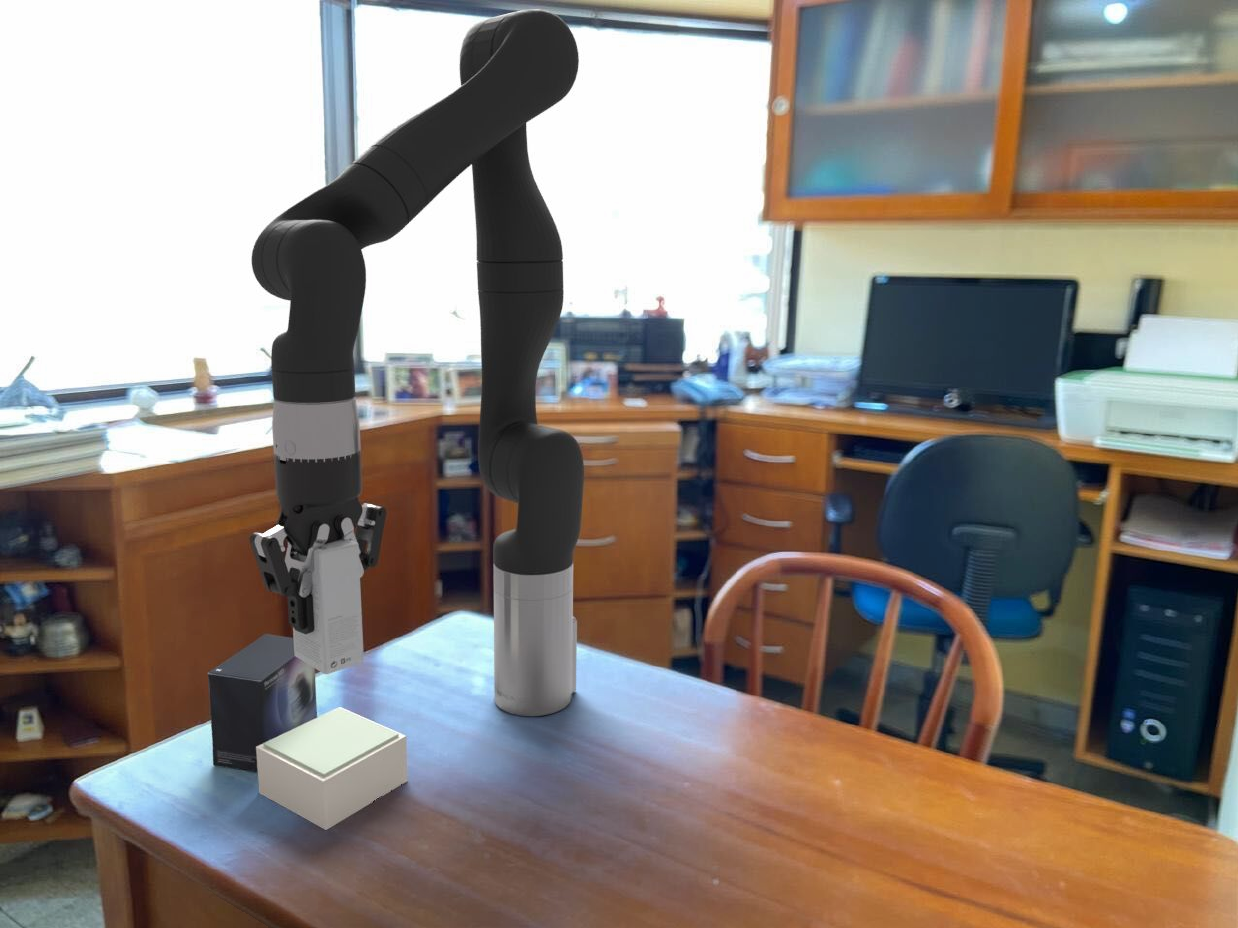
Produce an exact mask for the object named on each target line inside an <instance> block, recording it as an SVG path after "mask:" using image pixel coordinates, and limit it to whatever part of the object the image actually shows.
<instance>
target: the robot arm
mask: <svg viewBox="0 0 1238 928" xmlns="http://www.w3.org/2000/svg"><path fill="white" fill-rule="evenodd" d="M577 45H578V44H577V41H576V38H575V36H574V34H573V32H572V31H571V29H570V27H569V26H568V24H567V23H566V22H565V21H564V20H563V19H562V18H561V17H560V16H559V15H557V14H555V13H553V12H551V11H548V10H544V9H539V8H537V9H535V8H534V9H533V8H531V9H522V10H518V11H513V12H510V13H505V14H501V15H497V16H494V17H493V16H492V17H489V18H486V19H482V20H480V21H477V22H476V23H475V24H473V25H472V26H471V27H470V28H469V30H468V31H467V33H465V36H464V38H463V40H462V43H461V47H460V53H459V79H460V86H459V87H458V88H457V89H456V90H454V91H453V92H451V93H450V94H448V95H447V96H445V97H443V98H442V99H441V100H438V101H437V102H435V103H433V104H431V106H428V107H427V108H425V109H424V110H422V111H420V112H419V113H416V114H415V115H413V116H411V117H409V118H408V119H406V120H404V121H403V122H401V123H400V124H398V125H397V126H395V127H393V128H392V129H391V130H389V132H387V133H386V134H384V135H383V136H382V137H381V138H379V139H378V140H377V141H376V142H375V143H373V144H372V145H371V146H370V147H368V148H367V149H366V150H365V151H364V152H362V154H361V155H360V156H359V157H357V158H356V159H355V160H354V161H353V162H351V163H350V165H349V166H347V167H346V168H345V169H344V170H343V172H342V173H341V174H339V176H338V177H337V178H335V179H334V180H333V181H331V182H329V183H328V184H326V185H325V186H323V187H321V188H320V189H318V190H316V191H313V193H311V194H309V195H308V196H306V197H305V198H304V199H302V200H300V201H298V202H297V203H295V204H294V205H292V206H291V207H289V208H287V210H285V211H283V212H282V213H280V214H279V215H278V216H276V217H275V218H274V219H273V220H272V221H271V222H270V223H268V224H267V225H266V227H264V229H263V230H262V231H261V233H260V234H259V235H258V236H257V239H256V241H255V243H254V245H253V248H252V251H251V268H252V273H253V275H254V277H255V279H256V281H257V283H258V284H259V285H260V286H261V288H263V290H265V291H266V292H267V293H269V294H270V295H273V296H274V297H276V298H279V299H281V300H284V301H290V302H289V313H288V324H287V330H286V331H284V332H282V333H281V334H278V335H277V336H276V337H275V339H274V340H273V342H272V344H271V356H270V357H271V359H270V361H271V365H270V366H271V379H272V380H271V381H272V396H273V409H272V410H273V411H272V419H271V420H272V421H271V422H272V424H271V426H272V428H271V430H272V443H273V444H272V445H273V462H274V475H275V477H274V478H275V490H276V491H275V493H276V497H277V498H276V499H277V500H278V502H279V506H280V512H279V516H278V518H277V523H276V526H274V527H272V528H270V529H268V530H267V531H265V532H264V533H261V532H257V531H255V532H253V533H252V534H251V535H250V536H249V544H250V546H251V549H252V553H253V556H254V558H255V562H256V564H257V566H258V569H259V573H260V575H261V579H262V581H263V584H264V586H265V589H266V590H267V591H268V592H273V593H276V594H279V595H281V596H283V597H286V598H287V611H288V623H289V625H290V627H292V628H293V627H294V629H295V630H296V631H298V632H300V633H303V634H309V633H311V632H313V631H314V612H313V595H310V591H311V587H312V573H313V572H314V551H315V550H317V549H320V548H323V547H324V545H325V544H328V543H331V542H334V541H338V540H343V541H347V540H351V541H354V542H357V543H358V545H359V566H360V588H361V589H362V580H361V579H362V577H363V576H364V573H365V571H366V570H368V569H369V568H375V567H376V566H377V565H378V563H379V557H380V552H381V551H380V550H381V545H382V539H383V536H384V535H383V534H384V528H385V523H386V517H387V510H386V507H383V506H379V505H375V504H372V503H367V502H365V503H363V504H362V503H361V501H360V499H359V497H360V496H361V494H362V492H363V479H362V478H363V474H362V473H363V472H362V449H361V447H362V446H361V429H360V428H361V426H360V417H359V413H358V412H359V411H358V406H357V405H358V404H357V398H356V379H355V378H356V377H355V376H356V374H355V359H354V348H355V344H356V339H357V337H358V332H359V328H360V323H361V318H362V317H361V316H362V312H363V311H362V310H363V306H364V301H365V296H366V295H365V294H366V287H367V286H366V285H367V270H366V262H365V259H364V258H365V257H364V255H363V251H362V250H364V249H365V248H366V247H370V246H372V245H376V244H379V243H383V242H386V241H389V240H391V238H393V237H395V236H396V235H398V234H399V233H400V232H401V231H402V230H404V228H406V227H407V226H408V225H409V223H410V222H412V221H413V220H414V219H415V217H417V216H418V215H419V214H420V213H421V212H422V211H423V210H424V209H425V208H426V207H427V206H428V205H430V203H431V202H432V201H434V199H435V198H436V197H437V196H438V195H439V194H440V193H442V192H443V191H444V190H445V189H446V188H447V187H448V186H449V185H450V184H452V182H453V181H454V180H456V179H457V178H458V176H460V175H461V174H462V173H463V172H465V171H466V170H467V169H468V168H469V167H470V166H471V171H472V188H473V191H472V192H473V202H474V203H473V204H474V214H475V215H474V217H475V232H476V233H475V235H476V236H475V237H476V238H475V239H476V276H477V277H476V278H477V279H476V280H477V295H478V304H479V320H480V325H479V326H480V358H481V359H480V363H481V394H480V411H479V413H480V414H479V426H478V427H479V429H478V442H477V443H478V450H477V452H478V453H477V456H478V457H477V458H478V461H477V462H478V468H479V474H480V477H481V479H482V483H483V485H484V486H485V488H486V489H487V490H489V492H490V493H492V494H493V495H494V496H496V497H498V498H501V499H504V500H507V501H508V502H513V503H516V504H517V519H516V520H517V521H516V528H514V529H510V530H508V531H504V532H503V533H500V534H499V535H498V536H497V537H496V538H495V540H494V542H493V545H492V546H493V549H492V552H493V553H492V560H493V561H492V562H493V653H494V654H493V655H494V656H493V679H494V681H493V682H494V683H493V684H494V685H493V686H494V687H493V688H494V693H493V695H494V699H493V700H494V702H495V704H496V705H497V707H498V708H499V709H501V710H503V712H504V711H505V712H506V713H509V714H512V715H516V716H525V717H539V716H547V715H551V714H554V713H555V714H556V712H560V711H561V710H563V709H565V708H566V707H568V706H569V705H570V703H571V701H572V696H573V695H572V694H573V693H575V692H577V658H578V657H577V655H578V654H577V650H578V649H577V643H578V642H577V641H578V638H577V637H578V636H577V635H578V620H577V619H576V616H574V614H573V613H574V551H575V548H576V546H577V543H578V540H579V537H580V533H581V529H582V528H581V526H582V512H583V498H584V497H583V495H584V486H585V485H584V484H585V483H584V482H585V464H584V457H583V452H582V449H581V446H580V444H579V443H578V441H577V440H576V438H575V437H574V436H573V435H571V433H570V432H567V431H565V430H562V429H558V428H554V427H550V426H546V425H542V424H541V425H540V424H538V417H537V402H536V401H537V400H536V398H537V397H536V393H537V392H536V386H537V377H538V372H539V368H540V365H541V362H542V360H543V357H544V355H545V353H546V350H547V348H548V346H549V344H550V342H551V339H552V337H553V335H554V333H555V330H556V328H557V325H558V323H559V321H560V318H561V315H562V310H563V305H564V292H565V291H564V262H563V260H564V257H563V256H564V254H563V245H562V239H561V235H560V232H559V230H558V227H557V225H556V221H555V220H554V218H553V216H552V213H551V212H550V209H549V207H548V205H547V204H546V201H545V199H544V196H543V194H542V193H541V190H540V189H539V187H538V184H537V183H536V180H535V178H534V174H533V171H532V168H531V163H530V157H529V151H528V150H529V148H528V135H527V133H528V131H527V123H528V122H530V121H532V120H533V119H535V118H537V117H538V116H539V115H541V114H542V113H544V112H546V111H547V110H549V109H551V108H552V107H553V106H555V105H556V104H558V103H560V101H562V100H564V98H565V97H566V96H567V95H568V94H569V93H570V91H571V90H572V88H573V87H574V85H575V82H576V79H577V76H578V72H579V63H580V62H579V61H580V60H579V57H580V56H579V49H578V46H577ZM355 529H356V530H355ZM285 540H286V541H287V548H286V547H285V546H284V541H285ZM288 542H289V543H288ZM285 551H286V553H285V556H284V554H283V553H284V552H285ZM298 553H299V554H300V555H303V556H307V559H306V561H303V560H301V559H300V558H299V555H298ZM299 575H300V576H299ZM298 579H299V581H298ZM362 598H363V597H362V596H361V604H362V602H363V600H362Z"/></svg>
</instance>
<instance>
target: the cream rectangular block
mask: <svg viewBox="0 0 1238 928" xmlns="http://www.w3.org/2000/svg"><path fill="white" fill-rule="evenodd" d="M407 749H408V748H407V735H405V734H403V733H401V732H398V731H396V730H395V729H391V728H389V727H387V726H385V725H382V724H380V723H377V722H375V721H373V720H371V719H369V718H366V717H364V716H362V715H359V714H357V713H355V712H352V711H351V710H349V709H346V708H343V707H341V706H339V707H336V708H334V709H332V710H329V711H328V712H326V713H323V714H321V715H320V716H317V718H315V719H313V720H311V721H309V722H307V723H305V724H303V725H301V726H299V727H296V728H294V729H292V730H290V731H288V732H286V733H284V734H282V735H280V736H278V737H276V738H274V739H271V740H269V741H267V742H265V743H263V744H261V745H259V746H257V747H256V754H257V767H258V772H257V779H258V780H257V781H258V790H259V791H258V792H259V794H260V795H262V796H264V797H266V798H268V799H270V800H271V801H273V802H275V803H277V804H278V805H280V806H282V807H284V808H285V809H288V810H289V811H290V812H293V813H294V814H296V815H297V816H298V815H299V816H300V817H301V818H304V819H306V820H307V821H308V822H310V823H312V824H314V825H316V826H318V827H319V828H321V829H323V830H325V831H327V830H329V829H331V828H332V827H334V826H335V825H337V824H339V823H340V822H342V821H344V820H345V819H347V818H349V817H351V816H352V815H354V814H355V813H358V812H359V811H360V810H362V809H363V808H365V807H367V806H368V805H370V804H372V803H373V801H374V800H375V801H377V800H378V799H377V798H379V797H380V796H382V797H384V796H385V795H386V794H388V793H390V792H391V790H392V791H393V790H395V789H396V788H399V787H400V786H402V785H403V784H405V783H407V782H408V754H407V753H408V752H407ZM401 784H402V785H401ZM380 798H381V797H380ZM380 798H379V799H380ZM376 799H377V800H376Z"/></svg>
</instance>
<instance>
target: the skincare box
mask: <svg viewBox="0 0 1238 928" xmlns="http://www.w3.org/2000/svg"><path fill="white" fill-rule="evenodd" d="M288 543H289V542H288V541H287V544H288ZM298 555H299V558H300V559H301V560H303V561H306V559H307V556H303V555H300V554H299V553H298ZM299 576H300V575H299ZM298 581H299V579H298ZM310 595H313V612H314V631H313V632H311V633H309V634H303V633H300V632H298V631H296V630H295V629H294V627H292V634H293V637H292V638H294V654H295V656H296V657H297V658H299V659H301V660H302V661H304V662H306V663H307V664H309V665H311V666H312V667H314V668H315V670H317V671H319V672H321V673H322V674H324V675H330V674H333V673H336V672H338V671H340V670H344V669H346V668H350V667H352V666H353V667H354V666H356V665H358V664H361V663H364V661H365V659H364V658H365V657H364V637H363V636H364V635H363V614H362V612H363V611H362V609H363V608H362V603H361V597H362V587H361V588H360V566H359V545H358V543H357V542H354V541H351V540H347V541H343V540H338V541H334V542H331V543H328V544H325V545H324V547H323V548H320V549H317V550H315V551H314V572H313V573H312V587H311V591H310Z"/></svg>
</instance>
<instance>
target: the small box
mask: <svg viewBox="0 0 1238 928" xmlns="http://www.w3.org/2000/svg"><path fill="white" fill-rule="evenodd" d="M207 682H208V695H209V696H208V697H209V698H208V699H209V712H210V713H209V714H210V726H211V729H210V730H211V740H212V742H211V744H212V765H213V766H214V767H222V768H228V769H234V770H240V771H241V770H242V771H245V772H253V773H258V767H257V754H256V747H257V746H259V745H261V744H263V743H265V742H267V741H269V740H271V739H274V738H276V737H278V736H280V735H282V734H284V733H286V732H288V731H290V730H292V729H294V728H296V727H299V726H301V725H303V724H305V723H307V722H309V721H311V720H313V719H315V718H317V717H318V707H317V687H316V668H314V667H312V666H311V665H309V664H307V663H306V662H304V661H302V660H301V659H299V658H297V657H296V656H295V654H294V638H293V637H290V636H282V635H276V634H270V633H264V634H263V635H261V636H260V637H258V638H257V639H256V640H254V641H253V642H251V643H250V644H248V645H247V646H245V647H244V648H243V649H241V650H240V651H238V652H237V653H235V654H234V655H232V656H231V657H229V658H228V659H225V661H223V662H222V663H220V664H219V665H218V666H215V667H214V668H212V669H211V670H210V671H209V672H207Z"/></svg>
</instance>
